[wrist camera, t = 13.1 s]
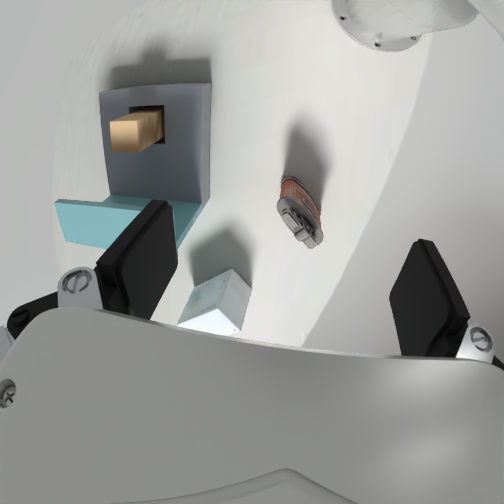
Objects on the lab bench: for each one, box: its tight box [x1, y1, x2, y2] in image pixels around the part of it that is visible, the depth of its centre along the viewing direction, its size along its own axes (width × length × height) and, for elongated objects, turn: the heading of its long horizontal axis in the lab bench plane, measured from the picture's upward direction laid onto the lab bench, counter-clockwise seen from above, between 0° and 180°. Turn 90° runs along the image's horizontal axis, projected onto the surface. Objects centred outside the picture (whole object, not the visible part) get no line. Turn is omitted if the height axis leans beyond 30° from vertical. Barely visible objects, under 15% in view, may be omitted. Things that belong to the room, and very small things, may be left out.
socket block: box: [54, 83, 212, 257], centre depth 33 cm, size 18×17×16 cm
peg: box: [110, 107, 165, 153], centre depth 33 cm, size 4×4×10 cm
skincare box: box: [177, 268, 252, 336], centre depth 51 cm, size 10×6×10 cm, turn 127°
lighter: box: [277, 176, 323, 249], centre depth 38 cm, size 8×3×10 cm, turn 41°
